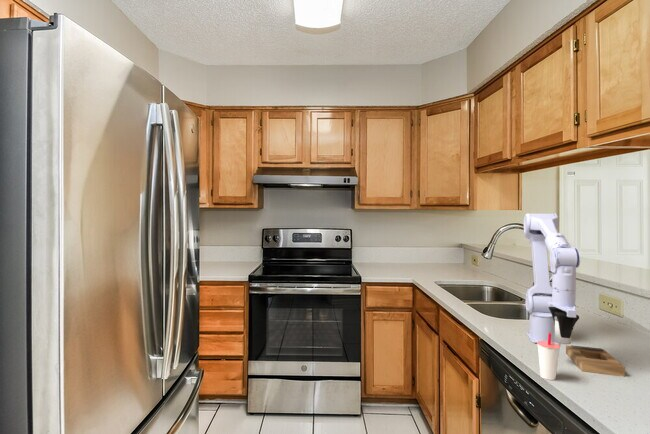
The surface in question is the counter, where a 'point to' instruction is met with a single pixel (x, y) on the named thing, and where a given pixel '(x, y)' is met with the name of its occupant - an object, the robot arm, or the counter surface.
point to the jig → (594, 360)
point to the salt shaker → (558, 336)
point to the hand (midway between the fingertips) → (562, 334)
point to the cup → (548, 358)
